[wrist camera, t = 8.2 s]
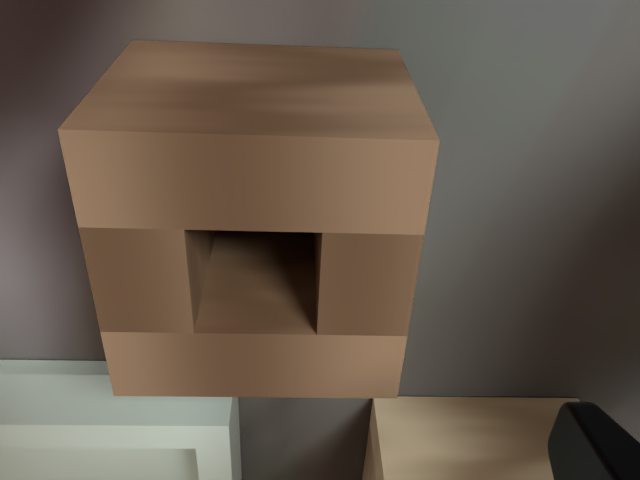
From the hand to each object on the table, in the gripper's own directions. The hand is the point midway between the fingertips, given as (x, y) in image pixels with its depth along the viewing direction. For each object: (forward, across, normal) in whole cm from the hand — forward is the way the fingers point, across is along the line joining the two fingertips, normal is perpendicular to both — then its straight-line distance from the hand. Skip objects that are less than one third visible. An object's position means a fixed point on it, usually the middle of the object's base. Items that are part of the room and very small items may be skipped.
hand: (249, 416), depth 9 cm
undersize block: (+8, 0, 0) cm, 8 cm away
